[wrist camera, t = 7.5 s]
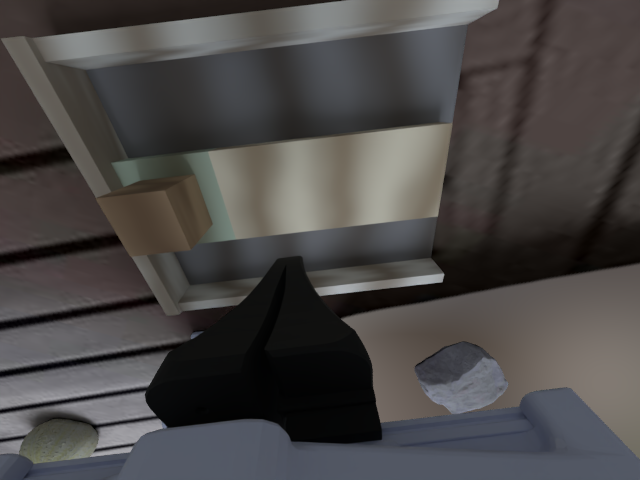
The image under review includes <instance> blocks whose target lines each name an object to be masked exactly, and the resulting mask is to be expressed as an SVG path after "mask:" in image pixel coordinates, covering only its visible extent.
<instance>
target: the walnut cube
mask: <svg viewBox="0 0 640 480" xmlns="http://www.w3.org/2000/svg"><path fill="white" fill-rule="evenodd" d="M95 199H96V201H97V202H98V204H99V206H100V207H101V209H102V211H103V212H104V214H105V216H106V217H107V219H108V220H109V222H110V224H111V225H112V227H113V229H114V230H115V232H116V234H117V235H118V237H119V239H120V240H121V242H122V244H123V245H124V247H125V249H126V250H127V252H128V254H129V255H130V257H134V256H143V255H152V254H160V253H169V252H178V251H187V250H191V249H192V248H193V247H194V246H195V245H196V244H197V242H198V241H199V240H200V239H201V238H202V236H203V235H204V234H205V233H206V232H207V231H208V229H209V228H210V227H211V226H212V225H213V223H212V220H211V218H210V215H209V212H208V209H207V207H206V204H205V201H204V198H203V196H202V193H201V190H200V187H199V185H198V182H197V179H196V176H195V174H193V175H184V176H175V177H167V178H158V179H149V180H141V181H138V182H135V183H133V184H130V185H128V186H125V187H123V188H120V189H118V190H115V191H113V192H110V193H108V194H105V195H103V196H100V197H98V198H95Z"/></svg>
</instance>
